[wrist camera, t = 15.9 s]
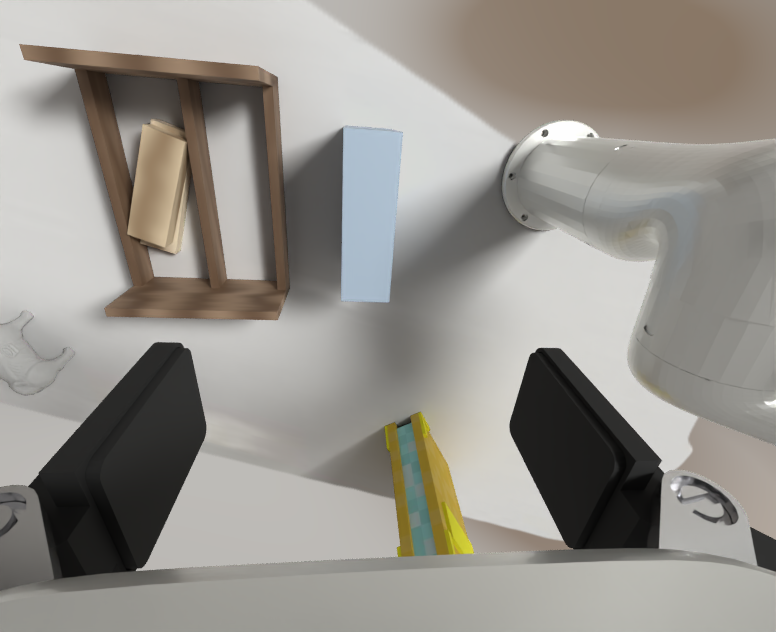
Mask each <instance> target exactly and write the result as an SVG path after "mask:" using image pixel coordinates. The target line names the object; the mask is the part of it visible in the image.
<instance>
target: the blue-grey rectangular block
mask: <svg viewBox="0 0 776 632" xmlns="http://www.w3.org/2000/svg"><path fill="white" fill-rule="evenodd" d="M402 137H403V132H400V131H396V130H392V129H384V128H371V127H358V126H345V127H344V128H343V197H342V274H341V301H355V302H389V299H390V286H391V274H392V262H393V249H394V237H395V224H396V212H397V199H398V187H399V174H400V162H401V150H402Z"/></svg>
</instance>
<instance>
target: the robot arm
mask: <svg viewBox="0 0 776 632" xmlns="http://www.w3.org/2000/svg"><path fill="white" fill-rule="evenodd" d="M542 131H543V135H542V136H541V132H542ZM586 136H587V137H586ZM510 173H511V177H509V174H510ZM502 193H503V199H504V202H505V205H506V207H507V209H508V211H509V212H510V214H511V215H512V216H513V217H514V218H515V219H516V220H517V221H518V222H520V223H521V224H523V225H525V226H527V227H529V228H532V229H536V230H553V229H557V228H558V229H560V230H562V231H564V232H566V233H567V234H569V235H571V236H573V237H575V238H577V239H579V240H581V241H582V242H584V243H586V244H588V245H590V246H592V247H594V248H596V249H598V250H600V251H602V252H604V253H605V254H607V255H609V256H611V257H614V258H617V259H620V260H625V261H631V262H644V261H653V260H656V261H655V264H654V267H653V270H652V273H651V277H650V278H651V280H650V283H649V286H648V289H647V292H646V295H645V298H644V300H643V303H642V306H641V309H640V312H639V315H638V318H637V321H636V323H635V326H634V329H633V332H632V335H631V338H630V342H629V346H628V352H627V360H628V366H629V369H630V371H631V373H632V375H633V376H634V378H635V379H636V380H637V381H638V382H639V383H640V384H641V385H642V386H643V387H644V388H645V389H646V390H648V391H649V392H650V393H652V394H653V395H655V396H656V397H658V398H660V399H661V400H663V401H665V402H667V403H669V404H671V405H673V406H675V407H677V408H679V409H681V410H683V411H686V412H688V413H691V414H693V415H695V416H698V417H700V418H703V419H706V420H708V421H711V422H714V423H716V424H719V425H721V426H724V427H726V428H729V429H732V430H735V431H737V432H740V433H743V434H745V435H748V436H751V437H753V438H756V439H759V440H761V441H764V442H767V443H770V444H772V445H775V446H776V139H769V140H759V141H750V142H740V143H727V144H677V143H662V142H648V141H635V140H634V141H633V140H621V139H608V138H600V137H599V136H598V134H597V133H596V132H595V131H594V130H593V129H592V128H591V127H589V126H587V125H585V124H583V123H581V122H577V121H572V120H560V121H553V122H550V123H547V124H544V125H541V126H540V127H538V128H536V129H535V130H533V131H531V132H530V133H529V134H528V135H527V136H525V137H524V138H523V139H522V140H521V141H520V143H519V144H518V145H517V146H516V147H515V149H514V150H513V152H512V154H511V155H510V157H509V159H508V162H507V164H506V166H505V170H504V174H503V180H502ZM522 215H523V217H522ZM521 217H522V218H521ZM510 433H511V436H512V438H513V440H514V442H515V444H516V446H517V448H518V450H519V452H520V454H521V456H522V458H523V460H524V462H525V464H526V466H527V468H528V470H529V472H530V474H531V476H532V478H533V480H534V482H535V484H536V486H537V488H538V490H539V492H540V494H541V496H542V498H543V500H544V502H545V504H546V506H547V508H548V510H549V512H550V514H551V516H552V518H553V520H554V522H555V524H556V526H557V528H558V530H559V532H560V534H561V536H562V538H563V540H564V542H565V543H566V545H567V546H568V547H570V548H573V549H574V550H550V551H549V550H548V551H526V552H501V553H476V554H452V555H430V556H409V557H388V558H366V559H345V560H324V561H304V562H286V563H266V564H248V565H230V566H209V567H190V568H176V569H162V570H147V571H136V569H137V568H142V567H143V566H144V565H145V564H146V562H147V561H148V559H149V557H150V555H151V552H152V550H153V548H154V546H155V544H156V542H157V539H158V537H159V535H160V533H161V531H162V529H163V527H164V524H165V522H166V520H167V518H168V516H169V514H170V512H171V509H172V507H173V505H174V503H175V501H176V499H177V496H178V494H179V492H180V490H181V488H182V486H183V484H184V481H185V479H186V477H187V475H188V473H189V471H190V469H191V466H192V464H193V462H194V460H195V458H196V456H197V454H198V452H199V449H200V447H201V445H202V443H203V441H204V438H205V435H206V421H205V416H204V412H203V407H202V402H201V398H200V393H199V388H198V384H197V379H196V374H195V369H194V365H193V360H192V355H191V352H190V350H189V349H188V348H184V347H183V345H182V344H181V343H166V342H157V343H154V344H153V345H152V346H151V347H150V348H149V349H148V350H147V352H146V353H145V354H144V355H143V356H142V357H141V358H140V359H139V361H138V362H137V363H136V364H135V365H134V366H133V367H132V368H131V370H130V371H129V372H128V373H127V374H126V375H125V376H124V377H123V379H122V380H121V381H120V382H119V383H118V384H117V385H116V386H115V388H114V389H113V390H112V391H111V392H110V393H109V394H108V395H107V397H106V398H105V399H104V400H103V401H102V402H101V403H100V404H99V406H98V407H97V408H96V409H95V410H94V411H93V412H92V413H91V414H90V416H89V417H88V418H87V419H86V420H85V421H84V422H83V423H82V425H81V426H80V427H79V428H78V429H77V430H76V431H75V432H74V434H73V435H72V436H71V437H70V438H69V439H68V440H67V442H66V443H65V444H64V445H63V446H62V447H61V448H60V449H59V451H58V452H57V453H56V454H55V455H54V456H53V457H52V458H51V459H50V461H49V462H48V463H47V464H46V465H45V466H44V467H43V468H42V470H41V471H40V472H39V475H38V476H37V477H36V479H34V481H33V482H32V483H31V484H30V485H29V486H28V487H27V486H23V485H10V486H4V487H0V632H776V540H775V539H773V538H771V537H769V536H767V535H765V534H763V533H761V532H759V531H757V530H755V529H753V528H751V527H750V525H749V520H748V517H747V515H746V512H745V510H744V509H743V507H742V506H741V505H740V504H739V502H738V501H737V500H736V499H735V498H734V497H733V496H732V495H731V494H730V493H728V492H727V491H726V490H725V489H723V488H722V487H720V486H719V485H718V484H716V483H715V482H713V481H711V480H709V479H707V478H705V477H703V476H701V475H698V474H696V473H693V472H690V471H684V470H670V471H668V472H666V473H665V474H664V472H663V471H662V470H661V469H660V468H659V467H658V466H659V464H660V463H661V461H662V460H661V459H660V458H659V457H658V456H657V455H656V453H655V452H654V451H653V450H652V449H651V448H650V447H649V446H648V445H647V443H646V442H645V441H644V440H643V439H642V438H641V437H640V436H639V435H638V434H637V432H636V431H635V430H634V429H633V428H632V427H631V426H630V425H629V424H628V422H627V421H626V420H625V419H624V418H623V417H622V416H621V415H620V414H619V413H618V411H617V410H616V409H615V408H614V407H613V406H612V405H611V404H610V403H609V401H608V400H607V399H606V398H605V397H604V396H603V395H602V394H601V393H600V392H599V390H598V389H597V388H596V387H595V386H594V385H593V384H592V383H591V382H590V380H589V379H588V378H587V377H586V376H585V375H584V374H583V373H582V372H581V371H580V369H579V368H578V367H577V366H576V365H575V364H574V363H573V362H572V361H571V360H570V358H569V357H568V356H567V355H566V354H565V353H564V352H563V351H562V350H561V349H559V348H539V349H537V350H536V352H535V353H532V354H531V355H530V357H529V360H528V363H527V366H526V370H525V373H524V377H523V380H522V383H521V387H520V390H519V393H518V397H517V400H516V403H515V407H514V410H513V413H512V417H511V420H510Z"/></svg>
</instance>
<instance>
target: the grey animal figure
mask: <svg viewBox="0 0 776 632" xmlns="http://www.w3.org/2000/svg"><path fill="white" fill-rule="evenodd" d="M33 317H34V315H33V314H32V313H31V312H29V311H22V312H21V315H20V317H19V318H17V319H15V320H13V321H11V322H9V323H6V324H0V379H3V380H5V381H6V382H8V383H9V387H10V388H11V389H12V390H13V391H15V392H17V393H19V394H21V395H32V394H35V393H37V392H40V391H42V390H43V389H44V388H46V387H48V386H49V385H50V384H51V383H52V382H53V381H54V380H55V378H56V376H57V373H58V371H60V370H62V369H63V368H64V365H65V364H66V363H67V362H68V361H69V360H70V359H71V358H72V356H73V355H74V354H75V351H74V350H73V349H72V348H70V347H66V348H64V349H63V354H62V355H61V356H59V357H58V358H56V359H53V360H44V359H41V358H39V357H38V355H37V353H36V352H35V351H34V350H33V349H32V347H31V346H30V345H29V344H28V343H27V342H26V341H25V340H24V339H23V335H22V332H21V330H22V328H23V327H24V326H25V325H26V324H27V323H28V322H29V321H30V320H31V319H32V318H33Z"/></svg>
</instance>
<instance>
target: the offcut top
mask: <svg viewBox="0 0 776 632" xmlns="http://www.w3.org/2000/svg"><path fill="white" fill-rule="evenodd" d="M189 158H190V157H189V151H188V145H187V139H186V138H183V137H181V136H179V135H176V134H174V133H172V132H169V131H167V130H165V129H162V128H160V127H158V126H155V125H153V124H143V127H142V134H141V141H140V148H139V155H138V162H137V169H136V176H135V183H134V190H133V197H132V204H131V211H130V218H129V225H128V232H127V234H128V235H130V236H133V237H136V238H139V239H142V240H145V241H147V242H150V243H153V244H156V245H159V246H162V247H164V248H165V247H167V246H169V245H170V244H172V243H173V239H174V234H175V229H176V224H177V218H178V213H179V208H180V203H181V198H182V193H183V188H184V183H185V178H186V173H187V168H188V163H189Z"/></svg>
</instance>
